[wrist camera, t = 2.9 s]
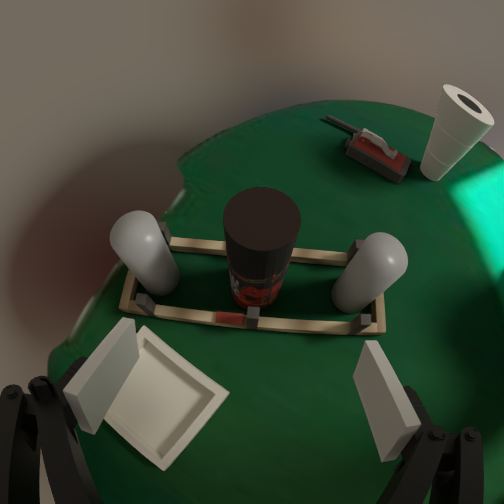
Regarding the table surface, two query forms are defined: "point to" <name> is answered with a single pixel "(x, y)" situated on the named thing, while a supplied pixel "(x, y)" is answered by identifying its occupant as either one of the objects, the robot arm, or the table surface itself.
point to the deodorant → (259, 244)
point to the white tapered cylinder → (454, 131)
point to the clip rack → (252, 319)
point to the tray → (163, 401)
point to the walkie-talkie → (375, 153)
